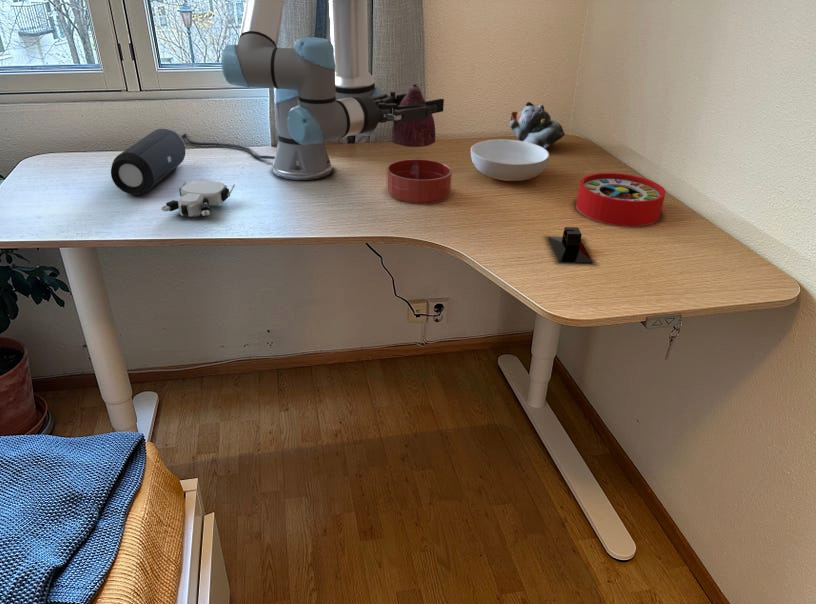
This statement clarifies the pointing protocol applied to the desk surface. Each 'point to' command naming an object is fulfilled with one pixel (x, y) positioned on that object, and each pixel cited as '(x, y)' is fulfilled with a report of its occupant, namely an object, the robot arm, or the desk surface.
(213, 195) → the robot toy
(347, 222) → the desk surface
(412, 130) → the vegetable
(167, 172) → the portable speaker
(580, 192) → the toy clock
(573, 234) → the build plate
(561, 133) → the lucky cat figurine
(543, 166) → the serving bowl
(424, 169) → the red round tray
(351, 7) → the robot arm
